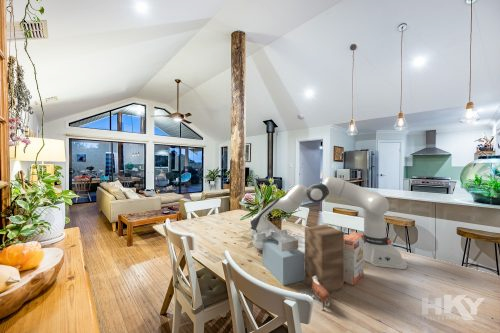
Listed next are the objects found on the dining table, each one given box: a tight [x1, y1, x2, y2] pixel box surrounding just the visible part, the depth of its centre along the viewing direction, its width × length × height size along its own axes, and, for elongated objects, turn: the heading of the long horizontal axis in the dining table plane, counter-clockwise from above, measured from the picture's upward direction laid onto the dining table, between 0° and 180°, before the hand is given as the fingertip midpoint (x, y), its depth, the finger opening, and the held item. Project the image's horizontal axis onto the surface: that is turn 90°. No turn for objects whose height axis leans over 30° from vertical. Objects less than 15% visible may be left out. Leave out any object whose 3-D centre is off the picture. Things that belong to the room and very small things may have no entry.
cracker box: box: [343, 231, 365, 286], centre depth 106 cm, size 14×6×21 cm, turn 136°
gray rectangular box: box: [262, 240, 305, 286], centre depth 113 cm, size 22×12×13 cm, turn 22°
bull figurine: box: [310, 276, 331, 311], centre depth 89 cm, size 4×13×8 cm, turn 7°
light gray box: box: [270, 226, 299, 252], centre depth 112 cm, size 22×9×4 cm, turn 22°
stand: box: [304, 224, 345, 294], centre depth 100 cm, size 12×12×26 cm
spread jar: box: [250, 226, 260, 238], centre depth 166 cm, size 12×11×12 cm
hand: (276, 232), depth 120 cm, fingers closed on light gray box, 4 cm apart
